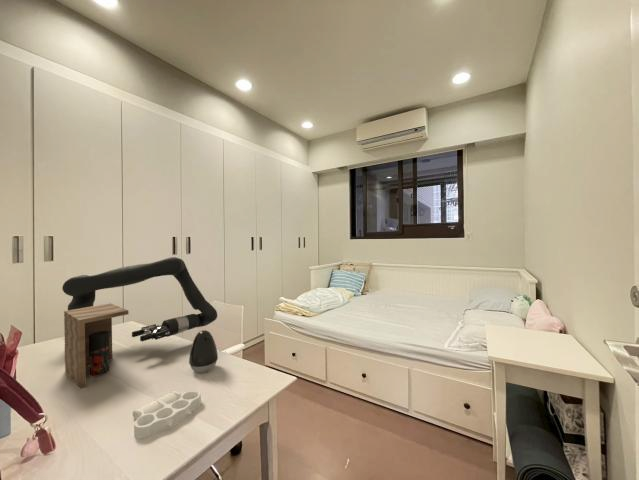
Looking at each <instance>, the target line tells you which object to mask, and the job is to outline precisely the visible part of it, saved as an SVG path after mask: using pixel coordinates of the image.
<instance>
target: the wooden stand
mask: <svg viewBox="0 0 639 480" xmlns="http://www.w3.org/2000/svg"><path fill="white" fill-rule="evenodd" d="M63 315H64V316H63V318H64V319H63V322H64V323H63V324H64V325H63V326H64V327H63V329H64V331H63V332H64V371H65V372H64V373H65V374H67V376H68V377H70V379H71V380H72V381H73V382H74V383H75V385H76V386H77V387H78V388H79V389H83V388H86V387H87V381H86V380H87V379H86V378H87V376H86V375H87V373H86V372H87V371H86V368H87V367H89V335H90V334H92V333H95V332H99V331H109V361H110V360H112V359H113V325H112V324H113V321H112V320H113V318H117V317H122V316H127V315H129V309H126V308H123V307H121V306H119V305H116V304H113V303H111V302H110V303H105V304H98V305H93V306H91V307H86V308H80V309H74V310H68V309H67V310H64V311H63Z"/></svg>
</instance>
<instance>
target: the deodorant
mask: <svg viewBox="0 0 639 480" xmlns="http://www.w3.org/2000/svg"><path fill="white" fill-rule="evenodd" d="M88 367H89V368H88V370H89V376H90V377H100V376H103V375H105V374H108V373H109V372H110V370H111V369H110V368H111V367H110V360H109V331H99V332H95V333H92V334H90V335H89V366H88Z"/></svg>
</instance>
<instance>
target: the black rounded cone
mask: <svg viewBox="0 0 639 480" xmlns="http://www.w3.org/2000/svg"><path fill="white" fill-rule="evenodd" d="M218 357H219V355H218V349H217V345H216V342H215V339H214V336H213V335H212V333H211V332H210V331H208V330H206V329H205V330H200V331H198V333H196V335H195V337H194V338H193V341H192V345H191V348H190V353H189V360H188V364H189V366H190V368H191V369H192V371H194V373H199V374H202V373H203V374H204V373H208V372H210V371H211V370H213V368H214V367H215V366H216V364H217V361H218Z"/></svg>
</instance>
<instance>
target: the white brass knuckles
mask: <svg viewBox="0 0 639 480" xmlns="http://www.w3.org/2000/svg"><path fill="white" fill-rule="evenodd" d="M201 404H202V395H201V392H200V391H198V390H190V391H185V392H179V391H177V390H173V391H170V392H169V393H167V394H166V395H164V396H162V397H160V398H157V399H155V400H154V401H152V402H150V403H147V404H146V405H144V406H141V407H139V408H137V409H135V410H133V411H132V417H133V419H134V420H135V421H134V422H133V423H134V424H133V434H134V435H133V436H134V438H136V439H138V440H143V439H148V438H150V437H152V436H153V435H155V434H156V433H159V432H161V431H166V430H169V429H171V428H173V427H175V426H176V424H178V423H180V422H182V421H184V420H186V419H187V418H188V417H189V416H191V415H192V414H193V413H192V412H193V411H194V410H195V409H198V408H199V407H201Z"/></svg>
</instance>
